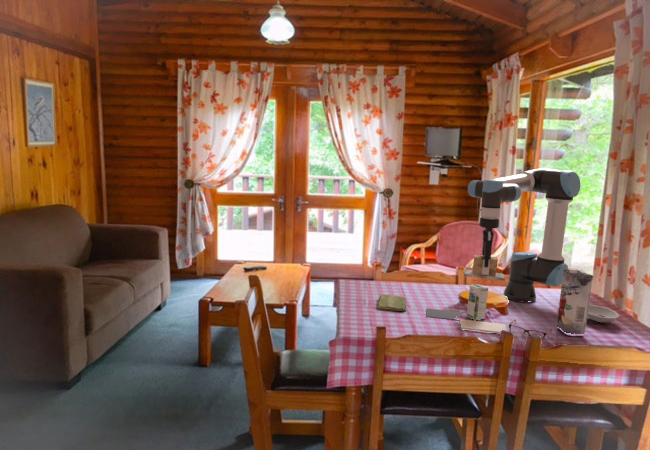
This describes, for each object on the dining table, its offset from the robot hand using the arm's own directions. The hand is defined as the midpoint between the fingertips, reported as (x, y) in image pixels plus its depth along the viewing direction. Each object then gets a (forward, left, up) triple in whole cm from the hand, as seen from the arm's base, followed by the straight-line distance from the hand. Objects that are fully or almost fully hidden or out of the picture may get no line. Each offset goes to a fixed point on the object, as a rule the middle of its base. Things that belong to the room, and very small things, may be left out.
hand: (484, 272), depth 214 cm
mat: (+14, -5, -22) cm, 26 cm away
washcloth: (+38, -10, -22) cm, 45 cm away
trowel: (0, 0, -1) cm, 1 cm away
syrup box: (+1, -5, -22) cm, 23 cm away
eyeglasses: (-19, +5, -22) cm, 30 cm away
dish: (-52, -19, -22) cm, 59 cm away
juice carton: (-36, 0, -22) cm, 42 cm away
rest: (-1, +7, -22) cm, 23 cm away
